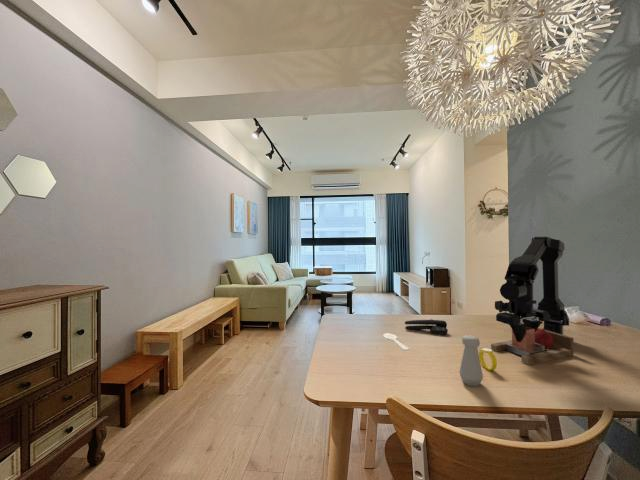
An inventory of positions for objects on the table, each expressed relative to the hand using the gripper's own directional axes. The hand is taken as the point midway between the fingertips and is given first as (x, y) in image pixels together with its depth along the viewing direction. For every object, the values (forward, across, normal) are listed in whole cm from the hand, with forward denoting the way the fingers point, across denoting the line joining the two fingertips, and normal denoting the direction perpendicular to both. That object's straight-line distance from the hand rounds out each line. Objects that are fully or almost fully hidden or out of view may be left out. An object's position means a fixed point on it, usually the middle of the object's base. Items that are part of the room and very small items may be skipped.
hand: (523, 340), depth 96 cm
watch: (+5, +21, +4) cm, 22 cm away
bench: (+4, -4, 0) cm, 6 cm away
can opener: (+5, +16, -31) cm, 35 cm away
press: (+4, -1, 0) cm, 4 cm away
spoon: (+5, +35, -25) cm, 43 cm away
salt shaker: (+5, +33, +9) cm, 35 cm away
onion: (+5, -10, 0) cm, 11 cm away
